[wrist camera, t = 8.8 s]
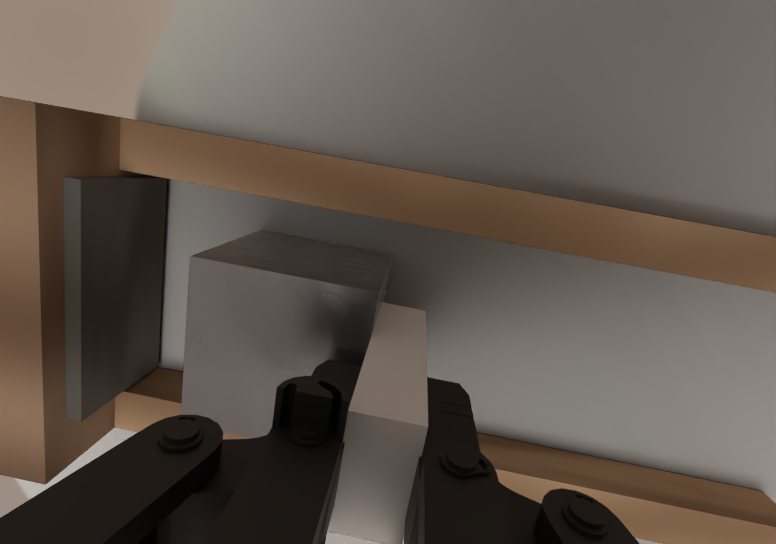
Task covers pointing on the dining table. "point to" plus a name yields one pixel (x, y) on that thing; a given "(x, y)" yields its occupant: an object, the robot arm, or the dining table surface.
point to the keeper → (273, 321)
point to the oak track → (311, 187)
